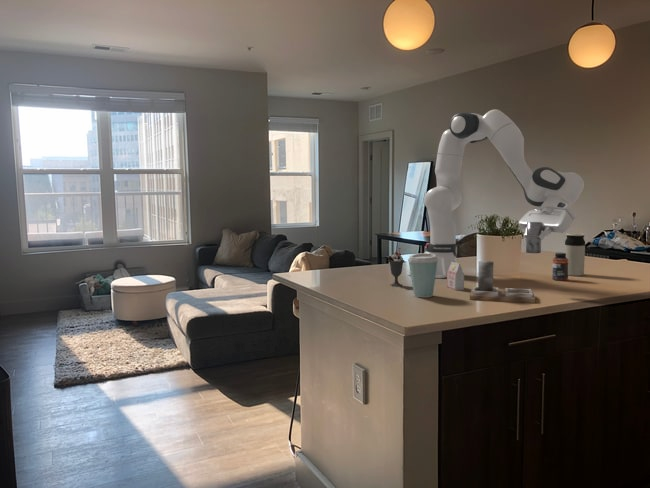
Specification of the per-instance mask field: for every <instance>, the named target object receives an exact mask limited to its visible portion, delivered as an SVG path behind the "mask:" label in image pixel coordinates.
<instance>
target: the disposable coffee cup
mask: <svg viewBox="0 0 650 488" xmlns="http://www.w3.org/2000/svg"><path fill="white" fill-rule="evenodd" d="M407 261H408V265H409V270H410V273H411V276H410V279H411V283H412V291H413V294H414V296H415V297H417V298H431V297H433V295H434V290H435V289H434V288H435V282H436V278H435V275H436V267H437V261H438V258H437V257H436V255H435V254H430V253H424V252H423V253H415V254H411V255H410V256H409V257H408V259H407Z"/></svg>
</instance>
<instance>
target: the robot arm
mask: <svg viewBox="0 0 650 488" xmlns="http://www.w3.org/2000/svg"><path fill="white" fill-rule="evenodd" d="M448 128H449V129H446V130H445V131H443V133H442V134H441V137H440V140H439V144H438V148H437V154H436V161H435V168H434V173H435V177H436V187H435V186H434V187H433V188H431V189H429V190H428V191H427V192H426V193H425V195H424V196H423V203H424V205H425V207H426V211H427V213H428V215H427V216H428V219H429V221H428V222H429V228H430V229H429V230H430V231H429V235H430V236H429V237H430V238H429V239H430V240H429V242H426V244H425V251H424V252H423V253H430V254H435V255H436V257H437V258H438V261H437V267H436V275H435V279H444V278H447V271H448V269H449V266H450V264H451V262H455V263H458V262H457V256H458V246H457V238H456V237H457V225H456V223H455V221H454V214H453V211H455V210H456V209H457V208H459V207H460V206H461V203H462V200H463V197H462V193H461V191H462V190H461V189H462V188H461V183H462V182H461V176H462V175H461V174H462V167H463V166H462V165H463V161H464V154H465V147H466V146H467V144H468V143H470V144H475V143H478V142H482V141H485V140H489V141H490V142H491V144H492V145H493V146H494V148H495V149H496V150H497V151H498V153H499V155H500V156H501V157H502V159H503V161H504V162H505V163H506V166H507V167H508V169H509V170H510V172H511V173H512V175H513V176H514V177H515V179H516V180H517V182H518V184H519V185H520V186H521V188H522V190H523V193H524V198H525V200H526V201H527V202H528V204H529V205H531V206H534V207H539V208H533V209H530V210H528V211H527V212H526V213H525V214H524V215H523V216H522V217H521V218H520V219H519V220H518V225H519V227H520V229H522V230H524V231H525V232H524V233H523V237H524V238H525V239H526V234H527V222H542V230H541V233H539V234H538V235H537V238H538V239H540V240H541V241H542V240H543V239H545V237H547V236H548V235H550V234H551V233H559V234H560V233H561V234H563V233H565V232H567V231H568V230H569V228H571V225H572V224H573V222H574V220H576V219H577V214H576V213H575V211H574V210H573V208H572V205H574V204H575V203H576V201H578V199H579V197H580V196H581V194H582V192H583V191H584V187H585V182H584V179H583V178H582V176H581V175H579V174H578V173H576V172H572V171H569V172H562V171H558V170H555V169H553V168H552V167H548V166H541V167H539V168H537V169H535V170H534V171H532V170H531V168H530V167H529V165H528V164H527V162H526V158H525V137H524V135H523V134H522V131H521V130H520V128H519V127H518V126H517V124H516V123H515V122H514V121H513V120H512V119H511V118H510V117H509V116H508V115H506V113H504V112H503V111H501V110H499V109H491V110H489V111H487V112H486V113H485V114H484V115H481V114H479V113H475V112H474V113H472V112H466V111H463V112H457V113H456V114H454V115H453V116H452V117H451V119H450V121H449V127H448ZM407 276H409V277H411V273H410V269H409V270H408V271H407Z"/></svg>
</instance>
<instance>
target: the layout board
mask: <svg viewBox="0 0 650 488" xmlns="http://www.w3.org/2000/svg"><path fill="white" fill-rule="evenodd" d="M477 270H478V279H477V283H478V284H477V286H473V287H472V289H470V294H469V300H471V301H472V300H473V301H485V302H486V301H492V302H506V303H507V302H509V303H522V302H523V304H524V303H525V304H526V303H527V304H536V297H535V294H534V291H533V289H531V288H529V289H528V288H511V287H510V288H508V287H505V288H504V290H501V289H500V290H499V287H494V261H491V260H490V261H489V260H481V261H478V269H477Z"/></svg>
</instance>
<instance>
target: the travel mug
mask: <svg viewBox="0 0 650 488" xmlns="http://www.w3.org/2000/svg"><path fill="white" fill-rule="evenodd" d="M565 235H566V239H565V240H564V253H566V258H567V259H568V277H570V276H571V277H572V276H573V277H581V276H584V275H585V261H586V260H585V258H586V255H585V254H586V253H585V252H586V240H585V235H586V234H585V233H579V232H578V233H577V232H571V233H570V232H569V233H565Z"/></svg>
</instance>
